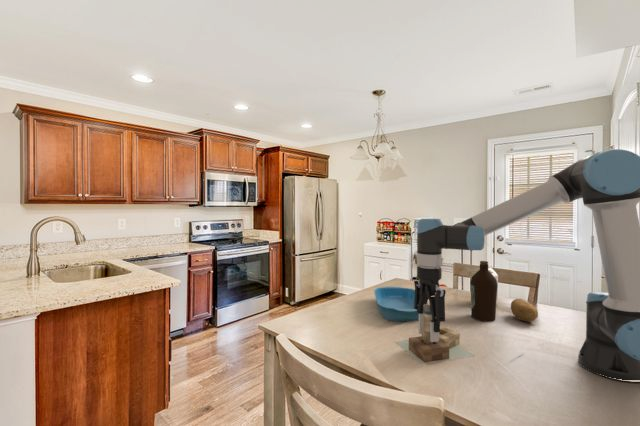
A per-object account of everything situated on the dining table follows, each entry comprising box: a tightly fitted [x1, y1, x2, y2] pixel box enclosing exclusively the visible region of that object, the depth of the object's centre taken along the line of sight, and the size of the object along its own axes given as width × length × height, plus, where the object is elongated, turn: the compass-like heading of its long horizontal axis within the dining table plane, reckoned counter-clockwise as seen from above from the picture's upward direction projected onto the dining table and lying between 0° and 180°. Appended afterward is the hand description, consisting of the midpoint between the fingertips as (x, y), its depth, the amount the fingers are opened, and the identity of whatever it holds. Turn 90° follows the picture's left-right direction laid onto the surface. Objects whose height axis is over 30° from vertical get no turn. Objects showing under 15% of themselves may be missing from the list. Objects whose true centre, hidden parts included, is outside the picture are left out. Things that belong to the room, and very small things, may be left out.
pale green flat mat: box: [395, 339, 476, 365], centre depth 106 cm, size 16×20×1 cm
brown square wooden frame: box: [408, 335, 449, 363], centre depth 102 cm, size 9×9×4 cm
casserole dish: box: [373, 286, 429, 323], centre depth 147 cm, size 37×22×7 cm, turn 175°
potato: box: [510, 298, 539, 323], centre depth 135 cm, size 10×14×8 cm
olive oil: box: [469, 260, 499, 322], centre depth 138 cm, size 11×11×25 cm
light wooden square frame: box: [421, 325, 461, 349], centre depth 110 cm, size 9×9×4 cm
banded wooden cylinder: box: [423, 303, 433, 345], centre depth 102 cm, size 3×3×16 cm
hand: (428, 336), depth 102 cm, fingers open, 6 cm apart
